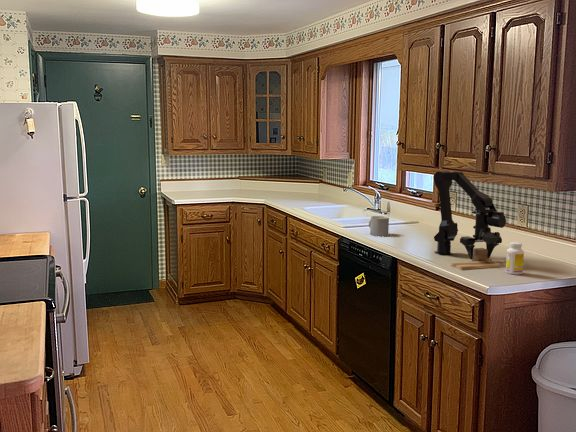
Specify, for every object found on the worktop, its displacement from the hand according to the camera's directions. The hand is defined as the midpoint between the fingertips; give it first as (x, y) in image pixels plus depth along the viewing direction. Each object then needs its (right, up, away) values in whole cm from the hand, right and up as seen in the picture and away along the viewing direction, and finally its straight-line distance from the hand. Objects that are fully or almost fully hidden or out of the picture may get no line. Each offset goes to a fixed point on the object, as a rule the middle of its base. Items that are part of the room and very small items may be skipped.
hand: (479, 258), depth 268 cm
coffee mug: (-36, +9, +65) cm, 75 cm away
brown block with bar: (+1, -2, -3) cm, 3 cm away
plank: (-4, -3, -8) cm, 10 cm away
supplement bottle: (+8, -5, -20) cm, 22 cm away
